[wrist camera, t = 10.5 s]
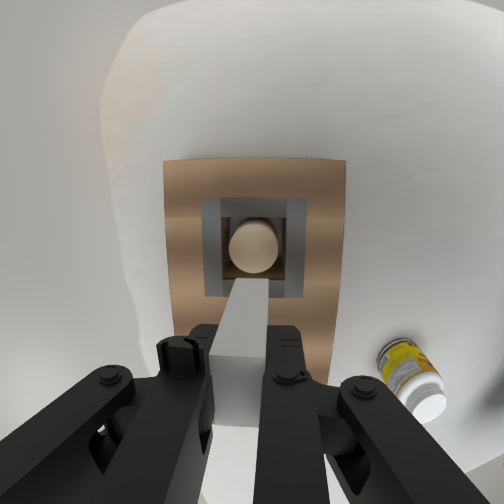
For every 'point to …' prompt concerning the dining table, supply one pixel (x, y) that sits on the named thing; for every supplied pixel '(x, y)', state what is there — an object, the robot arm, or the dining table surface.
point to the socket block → (293, 242)
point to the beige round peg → (254, 245)
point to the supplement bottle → (412, 379)
